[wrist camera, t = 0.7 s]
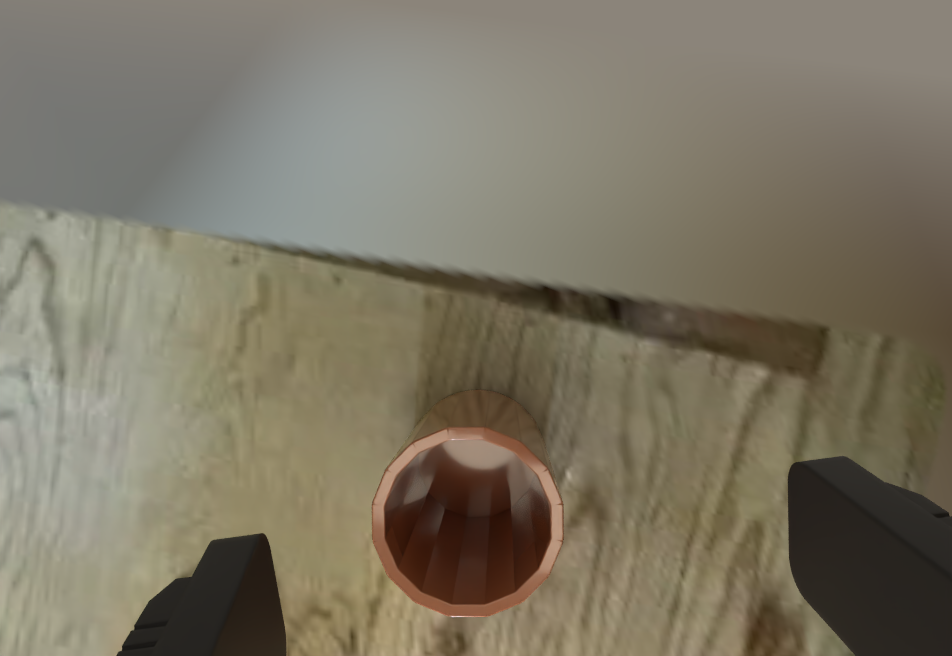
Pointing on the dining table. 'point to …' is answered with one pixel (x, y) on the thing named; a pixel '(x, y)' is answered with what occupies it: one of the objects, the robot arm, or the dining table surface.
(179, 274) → the dining table surface
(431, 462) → the cup
